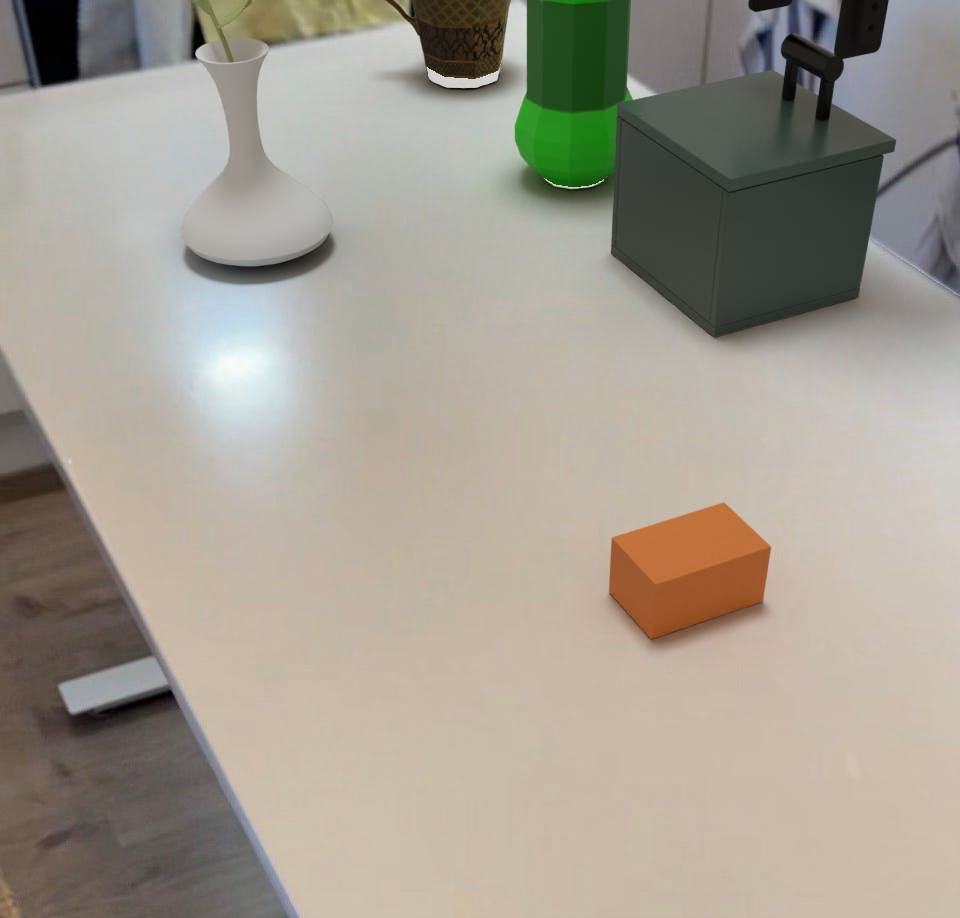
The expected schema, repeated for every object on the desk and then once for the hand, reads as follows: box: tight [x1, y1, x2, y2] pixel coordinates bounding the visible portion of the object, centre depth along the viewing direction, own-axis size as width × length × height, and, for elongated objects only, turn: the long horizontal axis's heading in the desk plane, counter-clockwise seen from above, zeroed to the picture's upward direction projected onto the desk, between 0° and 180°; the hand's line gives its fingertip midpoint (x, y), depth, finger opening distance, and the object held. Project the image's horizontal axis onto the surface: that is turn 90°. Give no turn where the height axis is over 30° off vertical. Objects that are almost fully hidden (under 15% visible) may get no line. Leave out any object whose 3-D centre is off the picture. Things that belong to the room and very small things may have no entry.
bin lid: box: [617, 32, 897, 192], centre depth 92 cm, size 13×14×5 cm
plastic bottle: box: [514, 0, 634, 187], centre depth 104 cm, size 10×10×25 cm
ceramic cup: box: [384, 0, 512, 79], centre depth 125 cm, size 13×10×10 cm
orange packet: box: [608, 502, 772, 640], centre depth 74 cm, size 7×5×4 cm, turn 116°
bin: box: [610, 116, 885, 338], centre depth 97 cm, size 12×14×10 cm
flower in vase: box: [180, 0, 334, 267], centre depth 97 cm, size 13×11×25 cm
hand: (811, 30), depth 91 cm, fingers open, 9 cm apart
